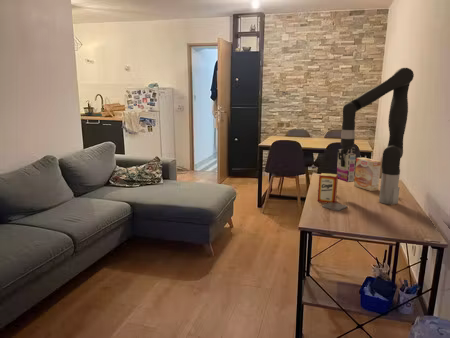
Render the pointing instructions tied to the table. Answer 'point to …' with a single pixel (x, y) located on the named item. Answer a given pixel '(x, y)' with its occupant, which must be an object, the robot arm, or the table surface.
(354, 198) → the table surface
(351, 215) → the table surface
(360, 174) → the coffeecake box
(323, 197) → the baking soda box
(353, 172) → the candy bar box
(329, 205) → the slate coaster
